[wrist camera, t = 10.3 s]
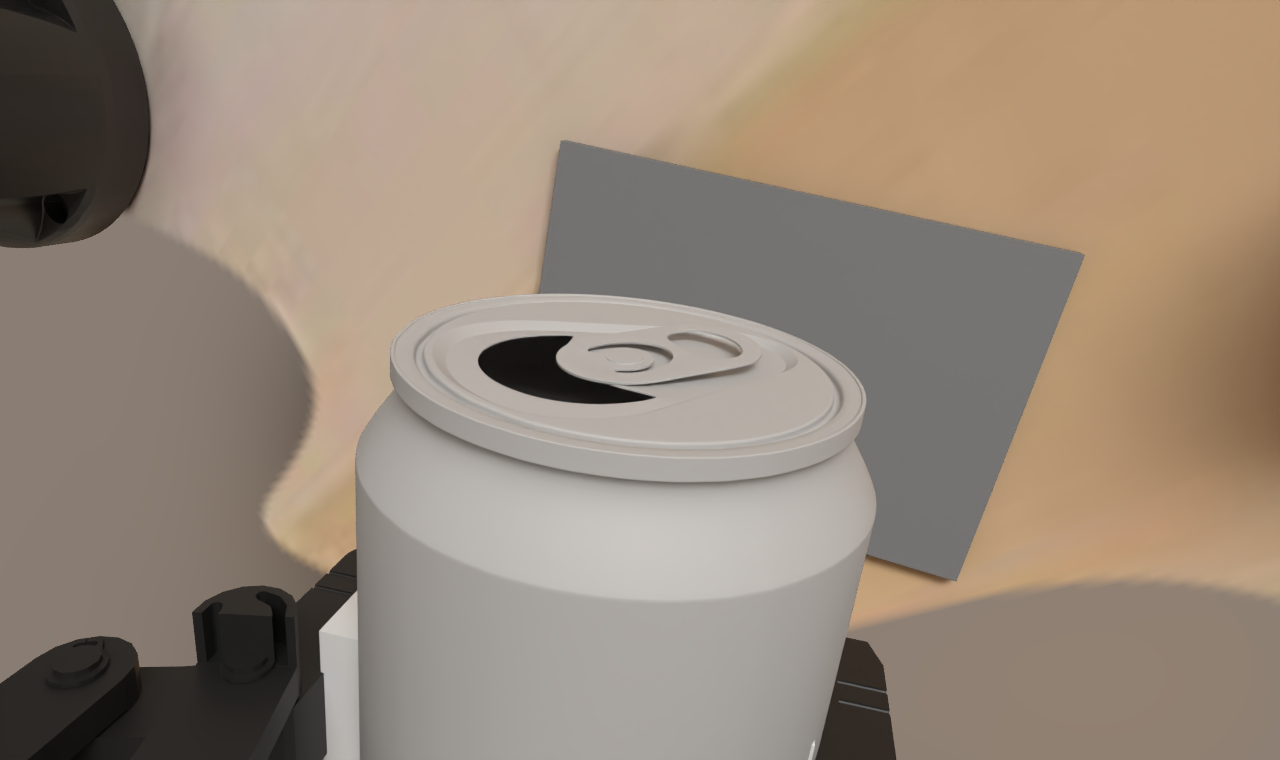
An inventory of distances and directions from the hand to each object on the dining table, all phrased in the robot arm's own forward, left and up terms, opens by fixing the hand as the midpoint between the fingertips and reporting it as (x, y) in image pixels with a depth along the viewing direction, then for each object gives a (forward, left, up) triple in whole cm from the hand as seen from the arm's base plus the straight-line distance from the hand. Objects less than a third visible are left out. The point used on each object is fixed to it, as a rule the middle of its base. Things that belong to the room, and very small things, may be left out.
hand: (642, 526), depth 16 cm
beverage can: (+1, -7, +5) cm, 8 cm away
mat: (+1, -1, -18) cm, 18 cm away
